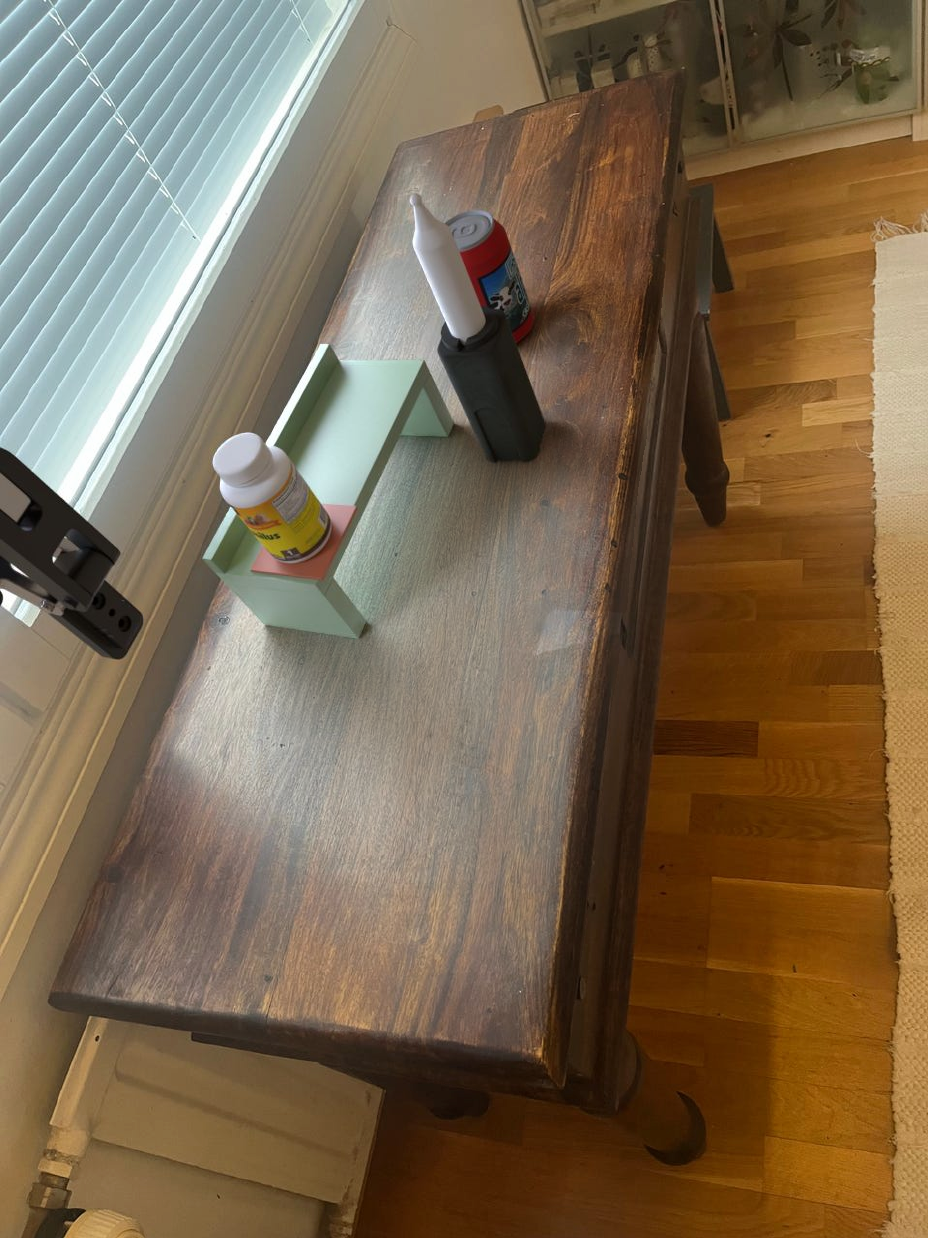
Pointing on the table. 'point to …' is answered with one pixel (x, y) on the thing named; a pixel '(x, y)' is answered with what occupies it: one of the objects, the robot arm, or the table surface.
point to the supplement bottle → (271, 498)
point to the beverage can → (492, 267)
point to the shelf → (329, 483)
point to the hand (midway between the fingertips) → (55, 626)
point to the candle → (478, 350)
